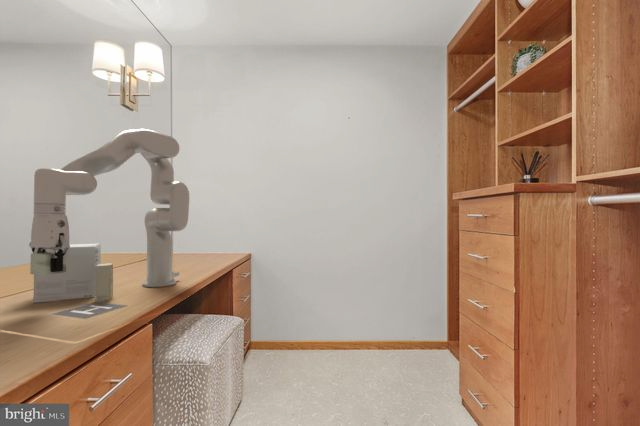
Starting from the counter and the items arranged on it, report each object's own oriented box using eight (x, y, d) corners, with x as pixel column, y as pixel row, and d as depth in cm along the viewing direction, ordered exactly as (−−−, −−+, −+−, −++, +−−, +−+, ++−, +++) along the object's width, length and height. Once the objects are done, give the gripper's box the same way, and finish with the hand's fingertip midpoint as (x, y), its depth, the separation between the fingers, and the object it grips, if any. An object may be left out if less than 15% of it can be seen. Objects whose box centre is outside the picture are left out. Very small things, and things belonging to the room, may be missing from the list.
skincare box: (110, 302, 114) (111, 265, 114) (94, 303, 112) (95, 266, 112) (113, 297, 119) (113, 262, 119) (98, 298, 118) (98, 263, 118)
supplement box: (101, 290, 130) (102, 243, 130) (95, 298, 118) (95, 246, 118) (44, 294, 123) (45, 244, 123) (32, 303, 111) (32, 247, 111)
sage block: (51, 270, 106) (52, 251, 106) (65, 272, 104) (66, 252, 104) (30, 274, 100) (30, 253, 100) (44, 275, 99) (45, 254, 99)
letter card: (96, 303, 111) (96, 302, 111) (128, 307, 107) (128, 305, 107) (51, 315, 98) (51, 313, 98) (85, 320, 94) (85, 318, 94)
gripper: (83, 210, 104) (82, 270, 103) (42, 210, 109) (41, 267, 109) (57, 210, 96) (56, 274, 96) (15, 209, 102) (14, 270, 101)
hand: (48, 270), depth 102 cm, fingers closed on sage block, 6 cm apart
